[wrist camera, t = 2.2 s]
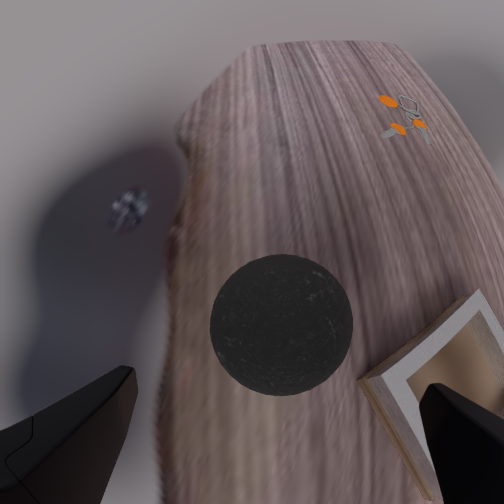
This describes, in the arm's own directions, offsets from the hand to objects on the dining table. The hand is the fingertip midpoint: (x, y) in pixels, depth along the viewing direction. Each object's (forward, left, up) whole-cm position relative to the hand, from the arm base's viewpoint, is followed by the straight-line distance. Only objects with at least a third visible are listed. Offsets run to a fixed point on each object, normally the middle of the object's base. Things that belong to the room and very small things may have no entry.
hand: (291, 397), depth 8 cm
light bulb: (+2, +2, -10) cm, 11 cm away
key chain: (+30, +18, -11) cm, 36 cm away
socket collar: (+12, -8, -9) cm, 17 cm away
